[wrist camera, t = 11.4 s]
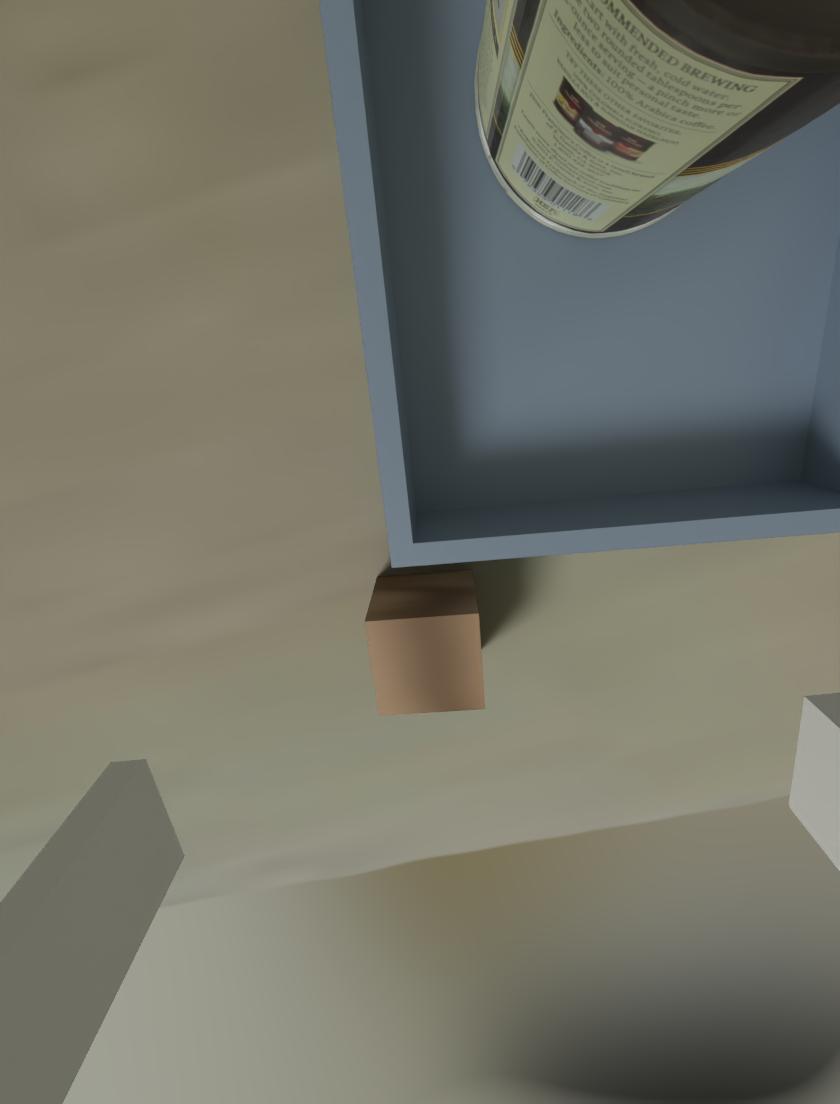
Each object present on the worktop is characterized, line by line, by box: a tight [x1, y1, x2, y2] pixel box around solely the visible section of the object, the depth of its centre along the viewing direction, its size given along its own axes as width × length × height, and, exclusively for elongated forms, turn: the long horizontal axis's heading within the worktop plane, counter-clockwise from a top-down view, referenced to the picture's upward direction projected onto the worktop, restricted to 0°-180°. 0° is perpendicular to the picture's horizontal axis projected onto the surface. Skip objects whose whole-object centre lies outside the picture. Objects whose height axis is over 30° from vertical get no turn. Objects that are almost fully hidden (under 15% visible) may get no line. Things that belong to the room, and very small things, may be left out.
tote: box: [319, 0, 840, 568], centre depth 19 cm, size 20×26×5 cm
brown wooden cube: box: [365, 570, 485, 715], centre depth 26 cm, size 5×5×5 cm
